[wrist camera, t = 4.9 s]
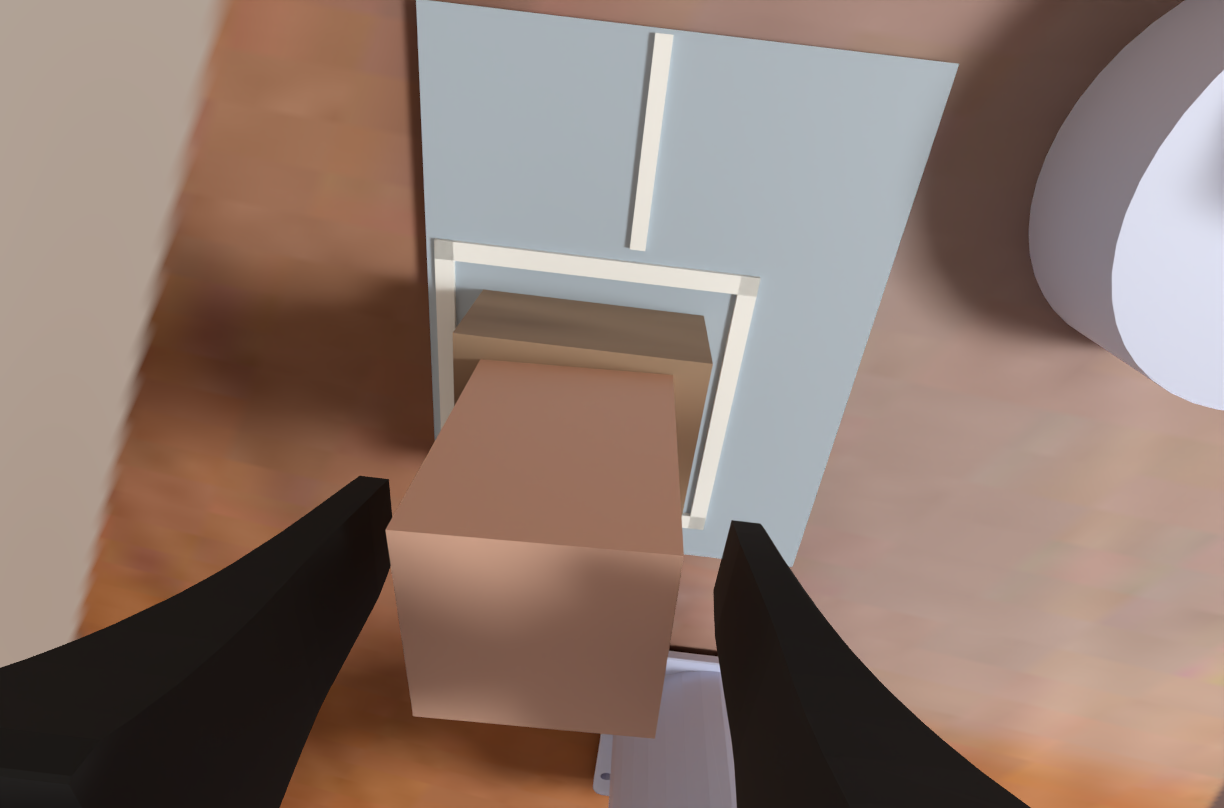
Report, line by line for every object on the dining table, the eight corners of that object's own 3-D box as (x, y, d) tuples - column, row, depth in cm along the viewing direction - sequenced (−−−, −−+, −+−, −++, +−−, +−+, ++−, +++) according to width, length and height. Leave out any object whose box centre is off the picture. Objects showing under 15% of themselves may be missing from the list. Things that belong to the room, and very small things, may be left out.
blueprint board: (789, 558, 22) (793, 570, 21) (441, 517, 22) (437, 527, 21) (951, 63, 14) (962, 64, 14) (421, 0, 14) (413, -2, 14)
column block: (654, 525, 17) (654, 739, 12) (487, 510, 17) (413, 715, 12) (673, 375, 15) (684, 556, 9) (480, 358, 15) (385, 529, 10)
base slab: (670, 492, 20) (673, 558, 17) (483, 469, 20) (457, 533, 17) (703, 315, 17) (712, 364, 14) (483, 289, 17) (452, 332, 14)
